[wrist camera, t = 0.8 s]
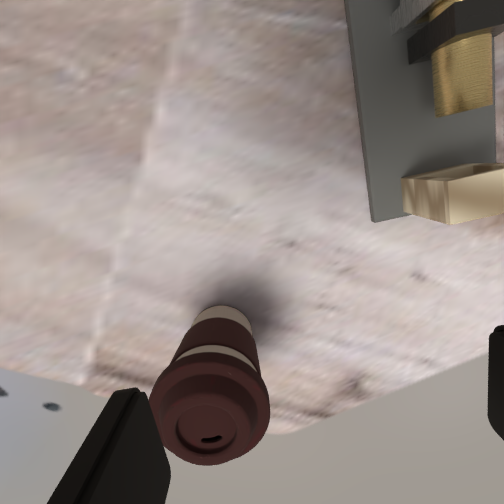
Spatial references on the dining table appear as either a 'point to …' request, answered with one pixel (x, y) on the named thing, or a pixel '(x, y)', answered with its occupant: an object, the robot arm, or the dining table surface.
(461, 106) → the tube
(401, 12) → the sleeve
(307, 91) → the dining table surface
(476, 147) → the board
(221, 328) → the coffee cup
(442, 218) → the socket
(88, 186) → the dining table surface
